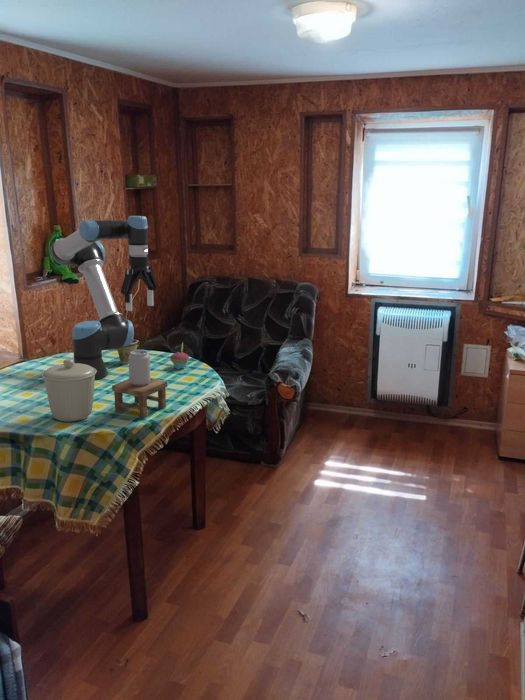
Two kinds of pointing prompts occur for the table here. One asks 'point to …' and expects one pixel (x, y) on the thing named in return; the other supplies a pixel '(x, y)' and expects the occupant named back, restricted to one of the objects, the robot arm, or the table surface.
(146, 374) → the can
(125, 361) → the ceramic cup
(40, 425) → the table surface
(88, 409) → the canister
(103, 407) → the table surface
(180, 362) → the cupcake
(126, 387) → the stool
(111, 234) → the robot arm
